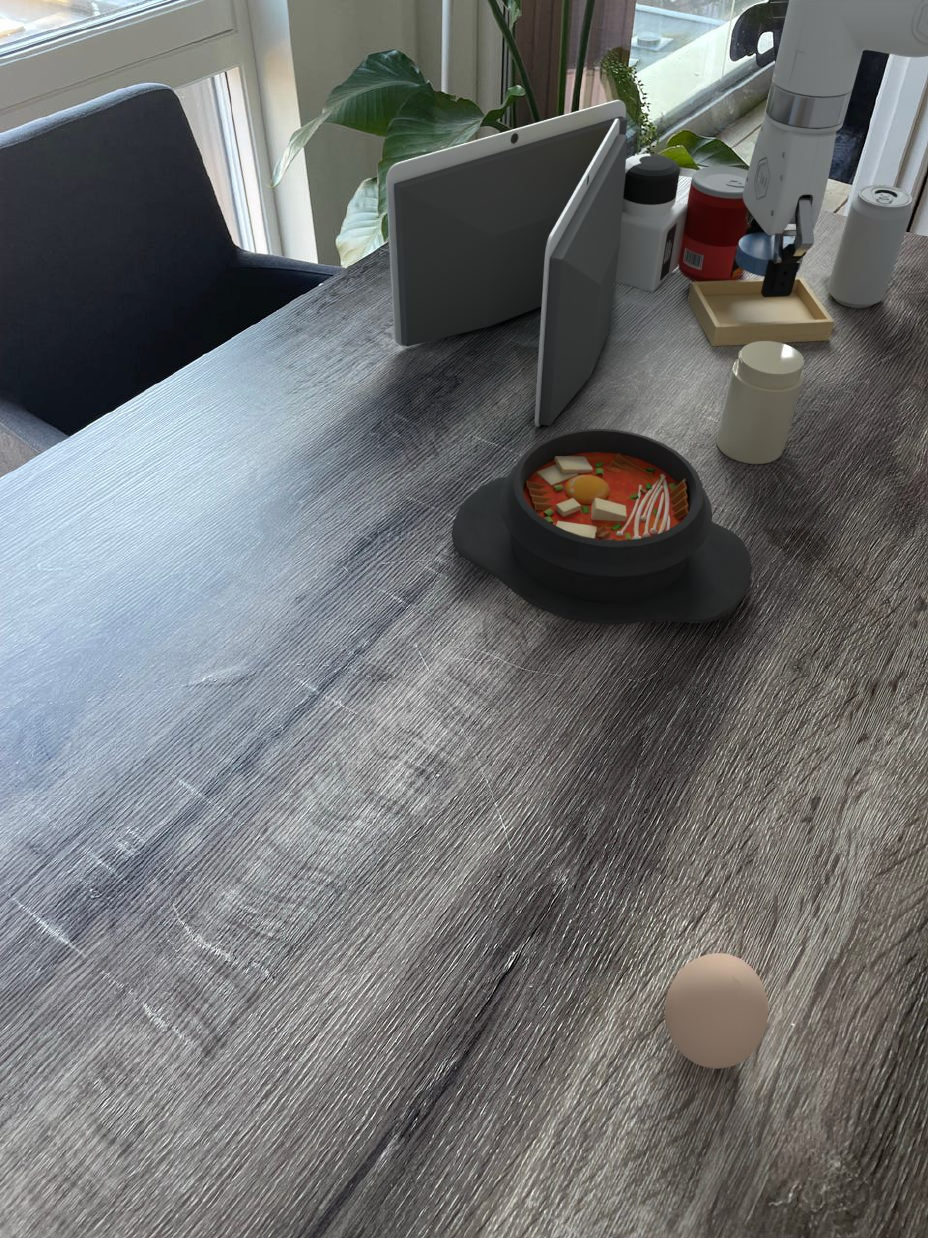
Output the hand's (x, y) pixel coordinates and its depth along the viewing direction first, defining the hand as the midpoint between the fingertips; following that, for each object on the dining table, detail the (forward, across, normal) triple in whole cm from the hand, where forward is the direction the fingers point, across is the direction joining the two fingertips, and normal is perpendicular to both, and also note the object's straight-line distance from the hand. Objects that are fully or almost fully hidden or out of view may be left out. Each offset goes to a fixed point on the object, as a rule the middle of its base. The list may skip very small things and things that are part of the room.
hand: (764, 277), depth 109 cm
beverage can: (+5, -4, +13) cm, 15 cm away
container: (+5, -12, -11) cm, 17 cm away
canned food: (+5, -12, -2) cm, 13 cm away
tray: (+5, 0, 0) cm, 5 cm away
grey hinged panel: (+6, 0, -28) cm, 29 cm away
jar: (+5, +23, -8) cm, 25 cm away
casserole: (+6, +38, -26) cm, 46 cm away
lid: (-3, 0, 0) cm, 3 cm away
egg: (+6, +78, -28) cm, 83 cm away
